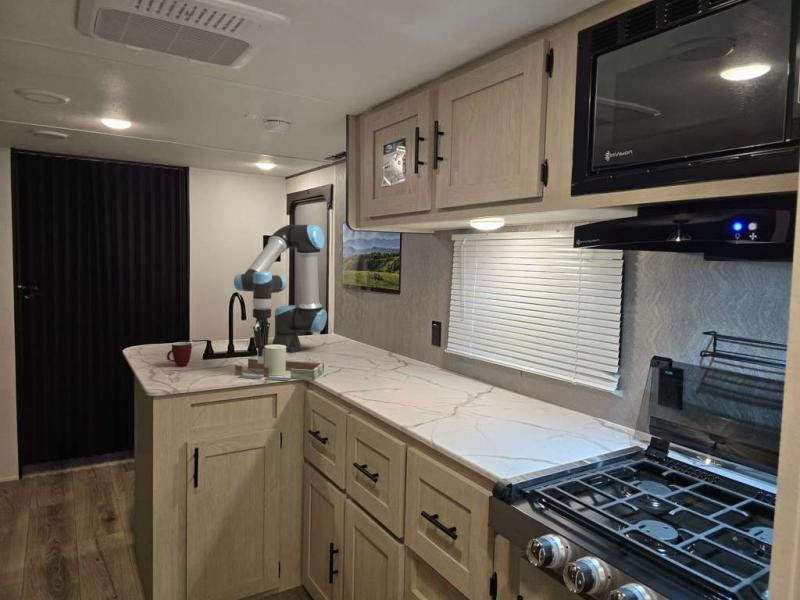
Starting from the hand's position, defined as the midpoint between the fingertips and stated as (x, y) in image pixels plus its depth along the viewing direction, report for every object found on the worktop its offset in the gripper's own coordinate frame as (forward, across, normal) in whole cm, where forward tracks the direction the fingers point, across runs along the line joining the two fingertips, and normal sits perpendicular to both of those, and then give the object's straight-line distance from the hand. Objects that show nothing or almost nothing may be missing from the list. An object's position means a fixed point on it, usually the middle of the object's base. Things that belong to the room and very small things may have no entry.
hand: (261, 363), depth 228 cm
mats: (+4, +9, +5) cm, 11 cm away
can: (+4, -1, +6) cm, 7 cm away
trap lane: (+4, 0, +8) cm, 9 cm away
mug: (+5, -2, -39) cm, 39 cm away
